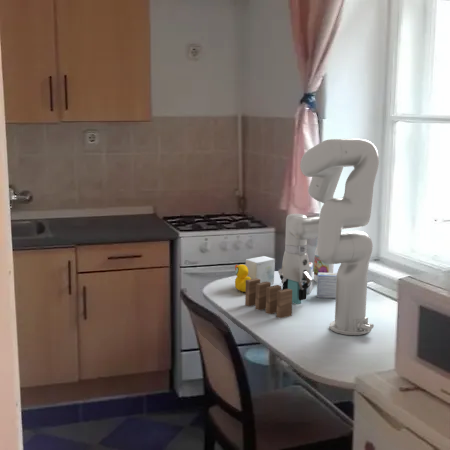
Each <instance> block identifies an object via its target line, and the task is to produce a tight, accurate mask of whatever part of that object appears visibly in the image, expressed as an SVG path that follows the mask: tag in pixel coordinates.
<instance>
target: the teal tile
mask: <svg viewBox="0 0 450 450" xmlns="http://www.w3.org/2000/svg"><path fill="white" fill-rule="evenodd" d="M288 289H291V290H292V304H295V305H300V304H302V300H299V289H300V286H299V283H298V282H295V281H292V280H289V279H288Z"/></svg>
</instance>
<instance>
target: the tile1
mask: <svg viewBox="0 0 450 450" xmlns="http://www.w3.org/2000/svg"><path fill="white" fill-rule="evenodd" d="M292 313H293V303H292V290H291V289H284V290H282V289H281V290H279V291H277V313H276V318H278V319H284V318H287V317H292Z"/></svg>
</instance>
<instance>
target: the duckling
mask: <svg viewBox="0 0 450 450" xmlns="http://www.w3.org/2000/svg"><path fill="white" fill-rule="evenodd" d="M234 270H235V271H234V272H235V275H236V278H235V279H234V280H235V281H234V286H235V288H236V290H238V291H240V292H242V293H246V280H250V279H251V278H250V277H247V275H248V268H247V266H245V264H243V263H242V264H241V263H240V264H239V265H238V264H235V266H234Z"/></svg>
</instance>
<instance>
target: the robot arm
mask: <svg viewBox="0 0 450 450" xmlns="http://www.w3.org/2000/svg"><path fill="white" fill-rule="evenodd" d="M379 157H380V156H379V153H378V149H377V147H376V146H375V144H374V143H372V141H369V140H367V139H363V138H331V139H325V140H323V141H321V142H319V143H318V144H316V145H314V146H313V147H311V148H309V149H308V150H306V151H305V153H303V155H302V157H301V160H300V164H299V165H300V166H299V168H300V171H301V173H302V175H304V177H306V178H311V180H310V183H309V186H308V189H307V191H308V194H309V196H310V197H311V198H313V199H314V200H316V201H318V202H319V203H322V207H321V208H320V212H319V216H318V215H317V216H308V217H307V215H306V214H303V213H290V214H288V215H287V216H286V218H285V240H284V241H285V242H284V243H285V244H284V245H285V246H284V247H285V248H284V253H283V257H282V262H281V263H282V264H281V268H280V269H279V268H278V270H277V272H278V274H279V278H280V280H281V285H282V288H283V290H284V289H288V279H289V280H292V281H295V282H298V283H299V286H300V289H299V300H301V301H303V300H306V299H307V295H308V294H307V289H308V287H309V286H310V284H311V283H312V284H313V281H314V279H313V277H312V278H311V277H310V269H309V263H310V259H309V255H308V253H307V252H308V248H307V246H308V245H307V244H308V243H307V242H308V240H312V239H317V241H316V242H317V244H316V247H317V251H318V256H319V258H320V260H321V261H322V262H323V263H325V264H334V265H338V264H339V267H338V270H337V272H336V273H337V280H336V298H335V303H334V304H335V305H334V306H335V307H334V320H333V321H331V322H330V323H329V329H330V330H331V331H332V332H334V333H337V334H340V335H347V336H362V335H365V334H368V333H370V332H371V331H372V329H374V326H375V325H374V324H373V323H369V317H366V314H367V313H366V312H367V311H366V310H367V293H368V279H369V276H368V275H369V268H370V267H369V266H370V263H371V262H370V261H371V257H372V253H373V247H374V246H373V241H372V238H371V237H370V235H369V234H368V233H366V232H364V231H363V230H362V231H361V230H348V229H357V228H363V227H366V226H367V225H368V224H369V222H370V220H371V215H372V206H373V205H372V204H373V196H374V186H375V181H376V177H377V173H378V169H379V162H380V161H379V159H380V158H379ZM346 167H347V168H349V167H353V169H352V170H351V172H350V173H349V175H348V177H347V179H346V181H345V184H344V194H343V197H334V195H335V192H336V189H337V187H338V184H339V180H340V177H341V175H342V172H343V169H344V168H346ZM342 230H346V231H342ZM347 230H348V231H347ZM302 282H303V284H304V285H303V284H302Z"/></svg>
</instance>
